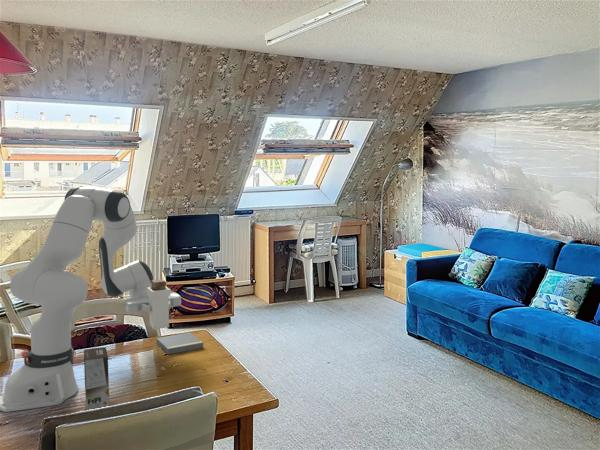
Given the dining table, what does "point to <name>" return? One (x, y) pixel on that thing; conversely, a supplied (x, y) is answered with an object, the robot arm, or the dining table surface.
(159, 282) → the block
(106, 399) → the coffee box
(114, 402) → the dining table surface
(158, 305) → the white tall block
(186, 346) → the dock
